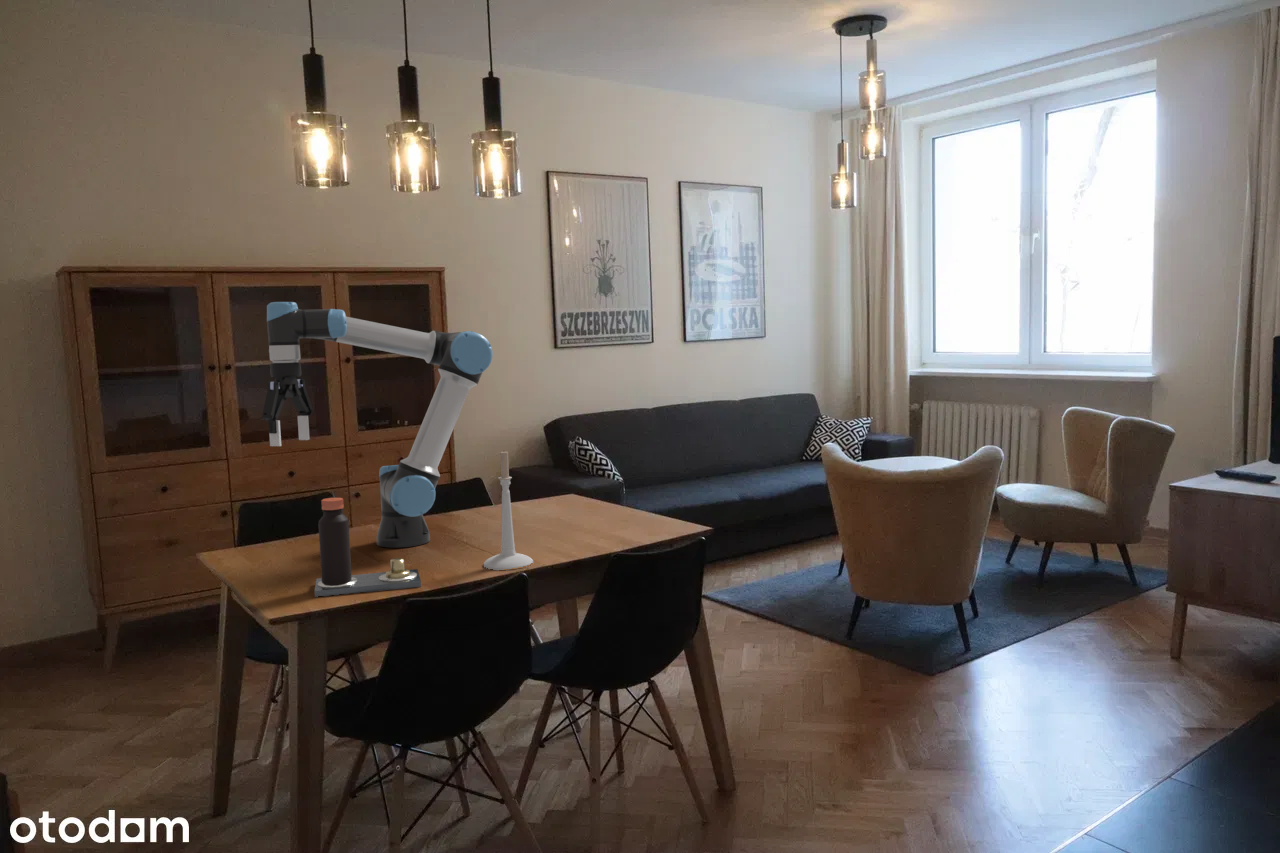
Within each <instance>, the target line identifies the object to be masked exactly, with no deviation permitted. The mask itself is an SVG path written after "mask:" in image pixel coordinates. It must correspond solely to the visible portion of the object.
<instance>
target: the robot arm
mask: <svg viewBox="0 0 1280 853" xmlns="http://www.w3.org/2000/svg"><path fill="white" fill-rule="evenodd" d="M266 325H267V336H268V337H267V338H268V347H269V349H268V353H269V361H271V363H270V364H269V368H270V370H269V371H270V373H269V374H270V377H271V378H275V379H274V381H268V382H267V392H266V397H265V401H264V404H263V410H262V414H261V418H262V419H263V421H266V422H267V423H268V433H269V434H268V435H269V446H270V447H282V436H281V435H282V434H281V420H278V419H279V417H280V414H281V412H282V408H283V406H284V403H285V401H286V400H288V399H290V400H291V402H292V404H293V406H294V407H295V410H296V412H297V413H298V414H299V415H297V427H298V428H297V430H298V440H299V441H309V440H311V438H310V424H309V416H312V415H313V413H314V408H313V406H312V403H311V402H312V401H311V400H310V397H309V392H308V390H307V388H306V380H305V379H304V378H298V377H301V376H302V364H301V363H300V362H299V361H300V360H301V347H300V339H315V340H322V341H329V342H336V343H339V344H345V345H351V346H356V347H361V348H366V349H370V350H371V349H372V350H376V351H383V352H386V353H391V354H398V355H402V356H407V357H413V358H417V359H418V358H419V359H422V360H424V361H425V362H426V363H427V364H431V365H436V366H438V369H437V371H438V373H439V376H440V378H439V381H438V384H437V385H436V388H435V391H434V393H433V396H432V398H431V400H430V403H429V406H428V408H427V410H426V412H425V415H424V417H423V420H422V423H421V425H420V426H419V429H418V432H417V434H416V437H415V439H414V442H413V444H412V447H411V450H410V451H409V454H408V456H407V457H406V458H403V459H400V461H399V463H398V464H393V465H383V466H381V467H379V470H378V471H379V473H378V474H379V475H378V479H379V490H380V492H379V493H380V509H381V512H380V513H381V520H380V523H379V526H378V530H377V534H376V545H377V546H378V547H380V548H381V547H383V548H389V549H390V548H392V549H393V548H397V549H398V548H409V547H416V546H420V545H425V544H427V543H429V542H430V541H431V533H430V531H429V527H428V525H427V522H426V520H425V516H424V514H427V512H429V511H430V510H431V508H432V507H433V505H434V503H435V500H436V487H437V485H438V482H439V480H440V477H441V474H440V472H439V470H438V467H439V465H440V462H441V460H442V458H443V456H444V453H445V450H446V448H447V445H448V443H449V441H450V438H451V436H452V433H453V431H454V428H455V426H456V424H457V422H458V419H459V417H460V414H461V411H462V409H463V407H464V404H465V402H466V399H467V397H468V394H469V392H470V390H471V389H472V388H474V387H477V386H478V384H479V383H480V382H479V381H480V379H481V377H482V374H483V373H484V372H485V371H487V369H488V368H489V367H490V365H491V363H492V361H493V357H494V356H493V354H494V352H493V348H492V345H491V343H490V342H489V340H488V338H486V337H485V336H484V335H482V333H478V332H475V331H473V330H472V331H471V330H467V331H457V332H442V331H437V330H432V331H430V332H425V331H424V332H423V331H419V330H414V329H410V328H404V327H399V326H395V325H389V324H384V323H379V322H375V321H371V320H370V321H369V320H366V319H365V320H364V319H360V318H355V317H349V316H347V315H346V312H345V310H344V309H337V308H336V309H335V308H323V309H322V308H321V309H319V308H318V309H301V308H300V309H299V307H298V304H297V302H294V301H273V302H269V303H268V304H267V305H266Z"/></svg>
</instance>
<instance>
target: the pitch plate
mask: <svg viewBox="0 0 1280 853" xmlns="http://www.w3.org/2000/svg"><path fill="white" fill-rule="evenodd" d="M351 577H352V579H351V581H350V582H348V583H346V584H341V585H325V584H323V583H322V577H319V578H316V579H315V580H316V581H315V584H314V585H315V586H314V598H318V597H317V596H324V597H330V596H329V595H334V596H340V595H339V594H344V595H350V594H349V593H354V594H361V593H360V592H364V593H373V592H382V591H393V590H394V591H395V590H401V589H402V590H403V589H413V588H420V587H422V581H421V577H420V574H419V570H418V568H415V569H414V568H413V569H407V568H405V559H404V558H400V557H397V558H392V559H390V570H388V571H383V572H381V571H380V572H374V573H371V572H370V573H362V574H360V573H359V574H351Z"/></svg>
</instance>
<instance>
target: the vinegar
mask: <svg viewBox="0 0 1280 853" xmlns="http://www.w3.org/2000/svg"><path fill="white" fill-rule="evenodd" d="M320 501H321V510H322V511H321V512H323V515H322V516H321V518H320V519H319V520H318V536H319V556H320V571H321V573H320V576H321V577H320V578H322V583H323V584H325V585H341V584H346V583H348V582H350V581H351V579H352V577H351V575H352V560H351V541H350V524H349V523H350V522H349V518H348V517H347V516H346V515H345V514H343V510H344V507H345V506H344V498H343V497H327V498H323V499H321V500H320Z"/></svg>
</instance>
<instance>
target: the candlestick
mask: <svg viewBox="0 0 1280 853" xmlns="http://www.w3.org/2000/svg"><path fill="white" fill-rule="evenodd" d="M499 453H500V457H499V458H500V477H497V478H498V480H499V481H500V486H501V488H502V491H501V528H500V529H501V535H500V536H501V541H500V542H501V543H500V545H501V546H500V553H499V554H495V555H493V556H491V557H489V558H487V559H485V561H484V562H483V567H484V568H485V567H486V568H485V569H487V568H488V569H487V570H490V569H493V570H492V571H499V570H504V569H512V568H518V567H523V566H527V565H530V564H531V563H533V564H534V560H533V559H532V558H531V557H530V556H528V555H526V554H523V553H518V552H517V551H516V549H515V547H516V546H515V538H514V537H515V536H514V529H513V528H514V526H513V516H512V515H513V514H512V504H511V493H510V489H509V488H510V485H511V479H513V477H512V476H510V471H509V470H510V469H509V465H510V464H509V451H501V452H499Z"/></svg>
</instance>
